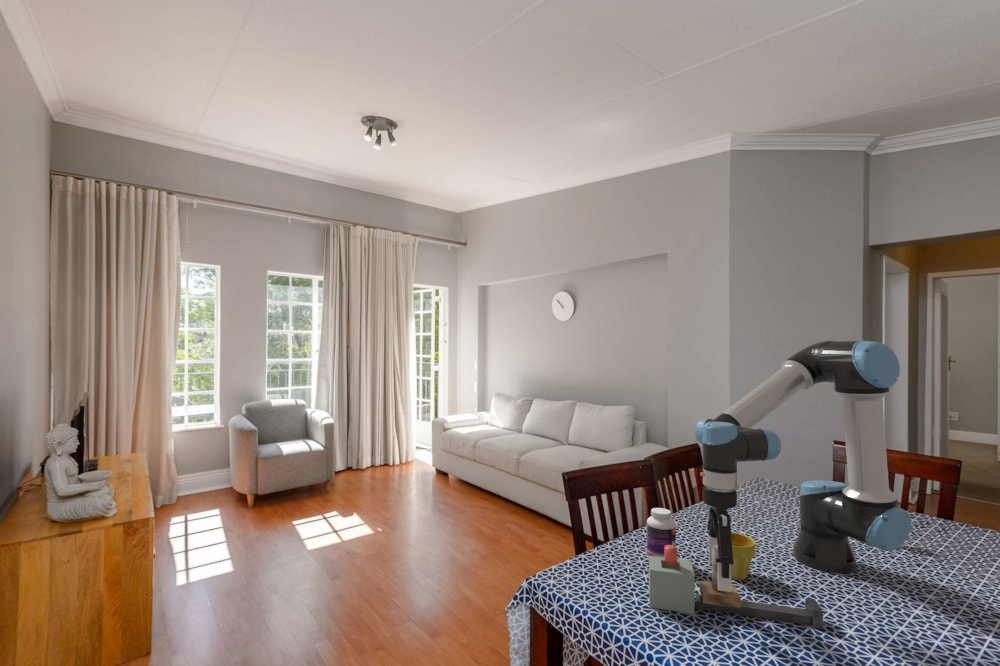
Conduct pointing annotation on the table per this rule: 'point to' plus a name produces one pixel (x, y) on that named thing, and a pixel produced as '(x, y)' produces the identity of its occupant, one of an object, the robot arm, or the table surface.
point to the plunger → (670, 555)
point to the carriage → (711, 591)
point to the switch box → (671, 585)
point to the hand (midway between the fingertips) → (719, 576)
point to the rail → (772, 611)
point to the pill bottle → (660, 532)
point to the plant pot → (741, 555)
